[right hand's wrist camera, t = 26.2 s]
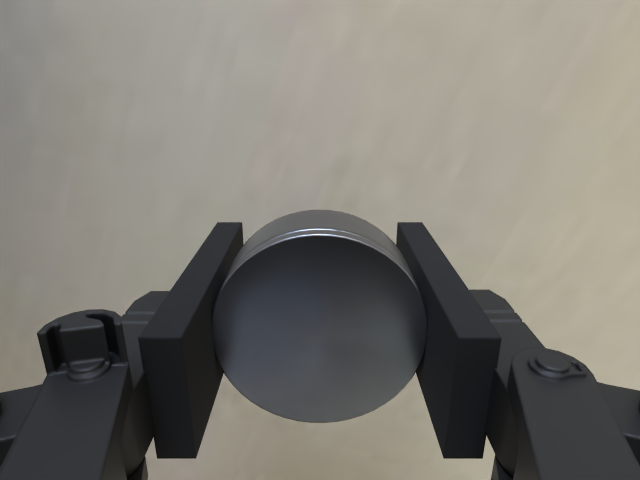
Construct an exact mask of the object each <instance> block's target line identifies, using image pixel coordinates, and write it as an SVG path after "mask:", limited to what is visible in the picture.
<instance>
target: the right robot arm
mask: <svg viewBox="0 0 640 480" xmlns="http://www.w3.org/2000/svg"><path fill="white" fill-rule="evenodd" d="M396 246H397V247H398V249H399V250H400V252H401V253H402V255H403V257H404V259H405V261H406V263H407V265H408V267H409V269H410V271H411V273H412V276H413V278H414V280H415V282H416V284H417V286H418V289H419V291H420V293H421V295H422V298H423V301H424V304H425V307H426V312H427V318H428V329H427V340H426V348H425V352H424V356H423V358H422V360H421V363H420V365H419V367H418V369H417V371H416V374H417V377H418V380H419V383H420V386H421V389H422V393H423V396H424V399H425V402H426V405H427V408H428V411H429V414H430V417H431V420H432V424H433V427H434V430H435V433H436V436H437V439H438V442H439V445H440V448H441V451H442V455H443V458H483V452H484V446H485V440H486V435H487V437H488V439H489V441H490V444H491V446H492V448H493V450H494V452H495V459H494V465H493V471H492V476H491V480H640V391H638V390H633V389H627V388H622V387H617V386H612V385H607V384H603V383H599V382H597V381H596V379H595V377H594V375H593V374H592V373H591V371H590V370H589V369H588V368H587V367H586V365H584V364H583V363H581V362H580V361H578V360H577V359H575V358H574V357H572V356H569V355H567V354H564V353H562V352H559V351H555V350H551V349H546V348H545V347H544V346H543V345H542V343H541V342H540V341H539V340H538V339H537V337H536V336H535V335H534V334H533V333H532V331H531V330H530V329H529V328H528V327H527V325H526V324H525V323H524V322H522V319H521V318H520V317H519V316H518V314H517V313H514V310H513V308H512V307H511V306H510V305H509V304H508V302H507V301H506V300H505V299H504V298H502V297H500V296H499V295H497V294H495V293H494V292H492V291H490V290H468V288H467V287H466V285H465V284H464V282H463V281H462V279H461V278H460V277H459V275H458V274H457V272H456V271H455V269H454V268H453V266H452V265H451V264H450V262H449V261H448V259H447V258H446V256H445V255H444V253H443V252H442V251H441V249H440V248H439V246H438V245H437V243H436V242H435V240H434V239H433V238H432V236H431V235H430V233H429V232H428V230H427V229H426V227H425V226H424V225H423V223H422V222H398V226H397V242H396ZM242 247H243V230H242V222H218V223H217V224H216V226H215V227H214V229H213V230H212V231H211V233H210V234H209V236H208V237H207V239H206V240H205V242H204V243H203V244H202V246H201V247H200V249H199V250H198V252H197V253H196V255H195V256H194V257H193V259H192V260H191V262H190V263H189V265H188V266H187V267H186V269H185V270H184V272H183V273H182V275H181V276H180V278H179V279H178V280H177V282H176V283H175V285H174V286H173V288H172V289H171V291H151V292H149V293H147V294H146V295H144V296H142V297H141V298H139V299H137V300H136V301H134V303H133V304H132V305H131V306H130V307H129V309H128V310H127V311H126V314H124V315H123V316H122V317H121V316H120V315H118V314H117V313H115V312H113V311H108V310H104V309H100V310H85V311H80V312H74V313H71V314H68V315H65V316H62V317H59V318H57V319H55V320H53V321H52V322H50V323H48V324H46V325H45V326H44V327H43V328H42V329H41V330H40V331H39V332H38V333H37V336H38V340H39V344H40V348H41V352H42V356H43V360H44V364H45V368H46V372H47V376H46V378H45V380H44V382H43V384H41V385H37V386H33V387H28V388H23V389H18V390H13V391H8V392H3V393H0V480H147V479H148V472H147V465H146V459H145V454H146V452H147V450H148V447H149V445H150V443H151V441H152V439H153V437H154V442H155V448H156V454H157V458H196V457H197V454H198V451H199V447H200V444H201V441H202V438H203V435H204V432H205V429H206V426H207V423H208V420H209V417H210V413H211V410H212V407H213V404H214V401H215V398H216V395H217V392H218V389H219V386H220V382H221V379H222V376H223V373H224V372H223V370H222V368H221V366H220V365H219V362H218V360H217V357H216V354H215V351H214V343H213V332H212V313H213V308H214V304H215V301H216V299H217V296H218V294H219V291H220V289H221V287H222V285H223V283H224V280H225V278H226V276H227V274H228V272H229V270H230V268H231V265H232V263H233V261H234V259H235V258H236V256H237V254H238V252H239V251H240V249H241V248H242Z"/></svg>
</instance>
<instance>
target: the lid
mask: <svg viewBox="0 0 640 480" xmlns="http://www.w3.org/2000/svg"><path fill="white" fill-rule="evenodd" d="M427 329H428V318H427V312H426V307H425V304H424V301H423V298H422V295H421V293H420V291H419V289H418V286H417V284H416V282H415V280H414V278H413V276H412V273H411V271H410V269H409V267H408V265H407V263H406V261H405V259H404V257H403V255H402V253H401V252H400V250H399V249H398V247H397V246H396V245H395V243H394V242H393V241H392V240H391V239H390V238H389V237H388V236H387V235H386V234H385V233H383V232H382V231H381V230H380V229H378V228H377V227H376V226H374V225H372V224H371V223H369V222H367V221H366V220H363V219H361V218H358V217H356V216H354V215H350V214H347V213H343V212H338V211H331V210H309V211H301V212H297V213H292V214H289V215H286V216H283V217H281V218H278V219H276V220H274V221H272V222H270V223H269V224H267V225H265V226H264V227H262V228H261V229H260V230H258V231H257V232H256V233H255V234H254V235H253V236H252V237H250V238H249V239H248V240H247V242H246V243H245V244H244V245H243V247H242V248H241V249H240V251H239V252H238V254H237V256H236V258H235V259H234V261H233V263H232V265H231V268H230V270H229V272H228V274H227V276H226V278H225V280H224V283H223V285H222V287H221V289H220V291H219V294H218V296H217V299H216V301H215V304H214V308H213V313H212V332H213V343H214V351H215V354H216V357H217V360H218V362H219V365H220V366H221V368H222V370H223V372H224V374H225V375H226V377H227V378H228V379H229V381H230V382H231V383H232V385H233V386H234V387H235V388H236V389H237V390H238V391H239V392H240V393H241V394H242V395H244V396H245V397H246V398H247V399H249V400H250V401H251V402H253V403H254V404H256V405H257V406H259V407H261V408H262V409H264V410H266V411H269V412H271V413H273V414H275V415H278V416H281V417H284V418H288V419H292V420H296V421H302V422H311V423H327V422H338V421H343V420H348V419H352V418H355V417H358V416H362V415H364V414H366V413H369V412H371V411H373V410H375V409H377V408H379V407H380V406H382V405H384V404H385V403H387V402H388V401H389V400H391V399H392V398H393V397H395V396H396V395H397V394H398V393H399V392H400V391H401V390H402V389H403V388H404V387H405V386H406V385H407V384H408V382H409V381H410V380H411V379H412V377H413V376H414V374H415V372H416V371H417V369H418V367H419V365H420V363H421V360H422V358H423V356H424V352H425V348H426V340H427Z"/></svg>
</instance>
